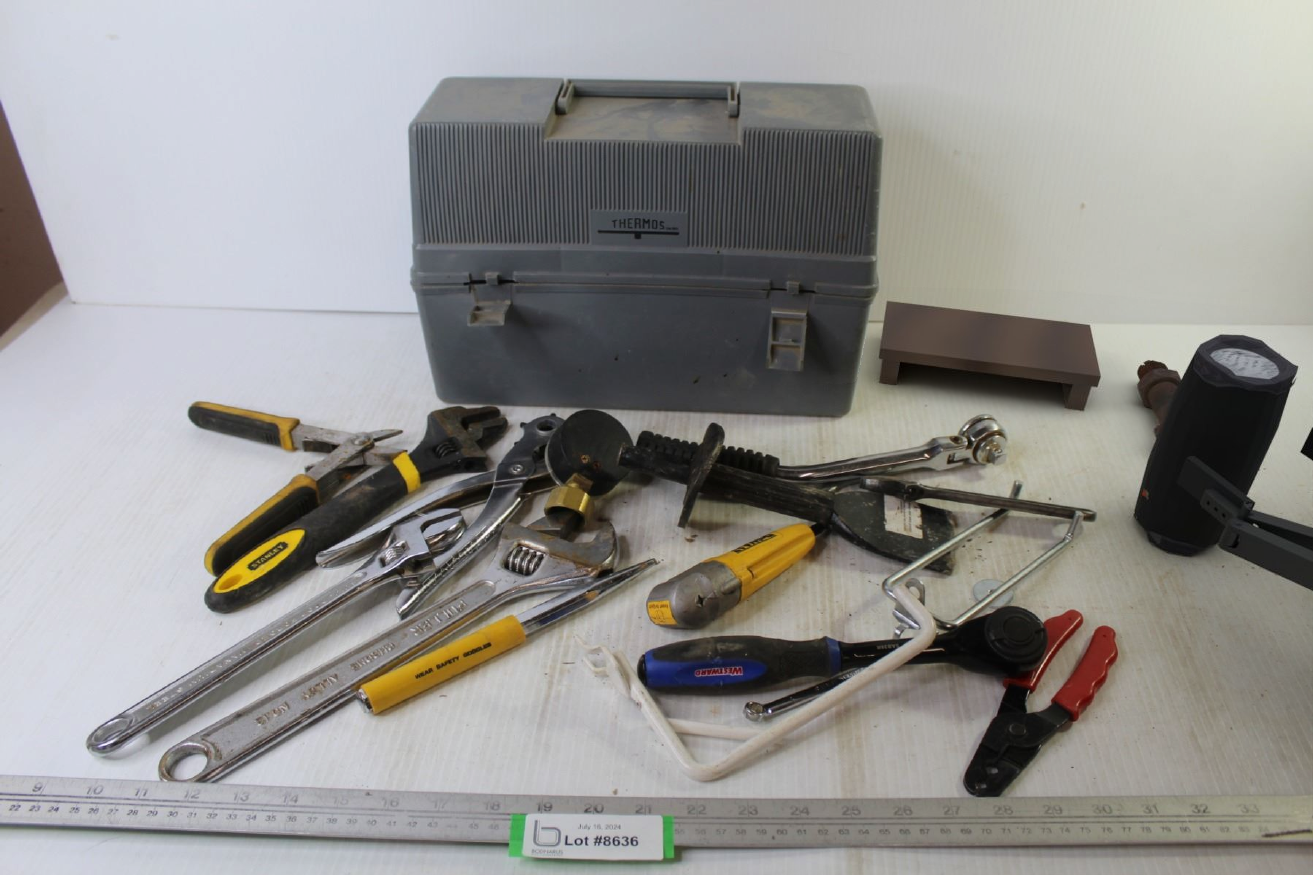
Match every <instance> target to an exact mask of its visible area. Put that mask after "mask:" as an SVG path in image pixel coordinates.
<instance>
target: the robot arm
mask: <svg viewBox="0 0 1313 875" xmlns="http://www.w3.org/2000/svg"><path fill="white" fill-rule="evenodd" d="M1299 453H1300V454H1302V455H1303V456H1304V457H1306V458H1308V459H1309V460H1310V461H1312V462H1313V426H1312V427H1311V429H1310V431H1309V433H1308V434H1307V437H1306V439H1305V441H1304V443H1303V445H1302V447H1301V449H1300V451H1299ZM1177 483H1178V484H1179V485H1180V486H1181V487H1183V488H1184V489H1185V490H1186V491H1188V492H1189V493H1190V494H1191V495H1193V496H1194V497H1195V498H1196V499H1197V500H1199V501H1200V504H1201V506H1202V508H1204V509H1205V510H1206V511H1208V512H1209V513H1210V514H1211V515H1212V516H1214V517H1215V518H1216V519H1217V520H1218V521H1220V522H1221V523H1222V524H1223V525H1225V526H1226V527H1225V529H1224V531H1223V533H1222V535H1221V538H1220V540H1219V542H1218V544H1217V546H1218V548H1219V549H1221V550H1222V551H1225V552H1227V553H1229V554H1231V555H1234V556H1235V557H1238V558H1239V559H1242V560H1245V561H1247V562H1249V563H1251V564H1252V565H1255V566H1257V567H1260V568H1261V569H1264V570H1266V571H1269V572H1271V573H1273V574H1274V575H1276V576H1279V577H1281V578H1284V579H1285V580H1288V581H1290V582H1292V583H1294V584H1297V585H1298V586H1301V587H1303V588H1306V589H1308V590H1309V591H1311V592H1313V527H1312V526H1309V525H1306V524H1302V523H1299V522H1296V521H1293V520H1289V519H1286V518H1282V517H1279V516H1277V515H1276V516H1275V515H1272V514H1269V513H1266V512H1262V511H1258V510H1257V509H1256V510H1255V509H1254V508H1255V505H1256V501H1254V500H1253V499H1251V497H1249V496H1248V495H1247V496H1246V495H1245V494H1244V493H1242V492H1241V491H1240V490H1238V489H1237V488H1236V487H1234V486H1233V485H1232V484H1231V483H1229V482H1228V481H1227V480H1225V479H1224V478H1223V477H1221V476H1220V475H1219V474H1217V473H1216V472H1215V471H1213V470H1212V469H1211V468H1210V467H1208V466H1207V465H1206V464H1204V463H1203V462H1202V461H1200V460H1199V459H1198V458H1196V457H1195V456H1190V457H1187V458H1186V461H1185V463H1184V466H1183V468H1182V471H1181V473H1180V475H1179V478H1178V480H1177Z"/></svg>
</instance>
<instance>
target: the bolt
mask: <svg viewBox="0 0 1313 875" xmlns="http://www.w3.org/2000/svg"><path fill="white" fill-rule="evenodd" d="M1136 375H1137V377H1138V382H1137V384H1136V386H1137V390H1138V393H1139V395H1140V398H1141V400H1142V403H1143V405H1144V407H1145V408H1149V409H1152V410H1153V413H1154V414H1155V416H1156V419H1157V420H1158V423H1159V424H1157V426H1155V427H1154V428H1153V433H1154V435H1155V439H1156V438H1157V435H1158V433H1159V430H1160V428H1161V425H1162V423H1163V420H1164V418H1165V415H1166V413H1167V410H1168V408H1169V405H1170V402H1171V400H1172V397H1173V395H1174V393H1175V391H1176V389H1177V387H1178V385H1179V383H1180V381H1181V379H1182V378H1181V375H1180V373H1179V372H1178V371H1177V370H1175V369H1169V367H1168V366H1167V365H1166V364H1165V363H1164V362H1162V361H1157V360H1154V359H1152V360H1150V359H1146V360H1144V361H1143V362H1142V364H1140V365H1139V366H1138V368H1137V371H1136Z"/></svg>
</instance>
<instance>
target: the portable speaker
mask: <svg viewBox="0 0 1313 875" xmlns="http://www.w3.org/2000/svg"><path fill="white" fill-rule="evenodd" d="M1298 370H1299V365H1297V364H1294V363H1293V362H1291V361H1289V359H1287V358H1285V357H1284V356H1283V355H1282V354H1280V353H1278V352H1277V351H1276V350H1274V349H1273V348H1271V347H1270V346H1269V345H1268V344H1267V343H1266V342H1265V341H1264V340H1262V339H1259V338H1256V337H1252V336H1248V335H1244V334H1223V333H1221V334H1218V335H1217V336H1214V337H1212V338H1210V339H1208V340H1206V341H1204V342H1202V343H1200V344H1199V346H1198V347H1197V349H1196V350H1195V352H1194V354H1193V356H1192V357H1191V360H1190V361H1189V364H1188V365H1187V367H1186V370H1185V372H1184V373H1183V375H1182V378H1181V381H1180V383H1179V385H1178V387H1177V389H1176V391H1175V393H1174V395H1173V397H1172V400H1171V402H1170V405H1169V408H1168V410H1167V413H1166V415H1165V418H1164V420H1163V423H1162V425H1161V428H1160V430H1159V433H1158V435H1157V438H1156V437H1155V441H1154V443H1153V446H1152V448H1151V451H1150V454H1149V456H1148V458H1147V462H1146V464H1145V469H1144V473H1143V475H1142V480H1141V483H1140V487H1139V491H1138V494H1137V498H1136V503H1135V506H1134V510H1133V511H1134V512H1133V515H1132V516H1133V517H1135V519H1136V521H1137V522H1138V524H1139V525H1140V527H1141V528H1142V529H1143V531H1144V532H1145V534H1146V536H1147V540H1148V542H1149V543H1150V544H1151V545H1154V546H1155V547H1157V548H1159V549H1160V550H1162V551H1164V552H1165V553H1170V554H1175V555H1179V556H1184V557H1193V556H1194V555H1196V554H1198V553H1200V552H1201V551H1202V552H1203V551H1204V550H1206V549H1208V548H1210V547H1213V546H1215V545H1218V542H1219V540H1220V538H1221V535H1222V533H1223V531H1224V529H1225V527H1226V526H1225V525H1223V524H1222V523H1221V522H1220V521H1218V520H1217V519H1216V518H1215V517H1214V516H1212V515H1211V514H1210V513H1209V512H1208V511H1206V510H1205V509H1204V508H1202V506H1201V504H1200V501H1199V500H1197V499H1196V498H1195V497H1194V496H1193V495H1191V494H1190V493H1189V492H1188V491H1186V490H1185V489H1184V488H1183V487H1181V486H1180V485H1179V484H1178V483H1177V480H1178V478H1179V475H1180V473H1181V471H1182V468H1183V466H1184V463H1185V461H1186V458H1187V457H1190V456H1195V457H1196V458H1198V459H1199V460H1200V461H1202V462H1203V463H1204V464H1206V465H1207V466H1208V467H1210V468H1211V469H1212V470H1213V471H1215V472H1216V473H1217V474H1219V475H1220V476H1221V477H1223V478H1224V479H1225V480H1227V481H1228V482H1229V483H1231V484H1232V485H1233V486H1234V487H1236V488H1237V489H1238V490H1240V491H1241V492H1242V493H1244V494H1245V495H1246V496H1248V494H1249V493H1250V491H1251V488H1252V486H1253V484H1254V481H1255V480H1256V478H1257V475H1258V473H1259V471H1260V469H1261V467H1262V464H1263V462H1264V460H1265V458H1266V456H1267V454H1268V451H1269V449H1270V447H1271V445H1272V443H1273V441H1274V439H1275V437H1276V435H1277V432H1278V430H1279V428H1280V425H1281V421H1282V417H1283V414H1284V410H1285V407H1286V404H1287V402H1288V398H1289V395H1290V391H1291V388H1293V387H1294V385H1295V384H1296V380H1297V373H1298Z"/></svg>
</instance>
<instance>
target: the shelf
mask: <svg viewBox="0 0 1313 875" xmlns="http://www.w3.org/2000/svg"><path fill="white" fill-rule="evenodd" d="M878 359H879V360H881V365H880V372H879V380H878V383H880V384H887V385H894V386H896V385H897V382H898V378H899V377H898V376H899V371H900V367H901V366H900V364H901V363H906V364H907V363H908V364H915V365H922V366H929V367H930V366H931V367H938V368H946V369H953V370H959V371H960V370H961V371H969V372H975V373H976V372H977V373H984V374H992V375H1000V376H1007V377H1014V378H1015V377H1016V378H1022V379H1030V380H1038V381H1045V382H1053V383H1061V384H1062V392H1063V400H1064V405H1065V409H1069V410H1077V411H1085V409H1086V407H1087V406H1086V405H1087V402H1088V399H1089V397H1090V393H1091V389H1092V387H1093V388H1098V387H1099V385H1100V384H1099V383H1100V380H1101V377H1102V375H1101V370H1100V365H1099V360H1098V356H1097V352H1096V347H1095V342H1094V337H1093V333H1092V327H1091V325H1090V324H1086V323H1079V322H1070V321H1062V320H1061V321H1060V320H1053V319H1043V318H1038V317H1037V318H1036V317H1027V316H1019V315H1010V314H1003V313H1002V314H1001V313H993V312H984V311H978V310H977V311H976V310H967V309H959V308H951V307H942V306H934V305H925V304H918V303H917V304H916V303H909V302H901V301H892V300H886V305H885V311H884V317H883V324H882V331H881V339H880V346H879V352H878Z"/></svg>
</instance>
